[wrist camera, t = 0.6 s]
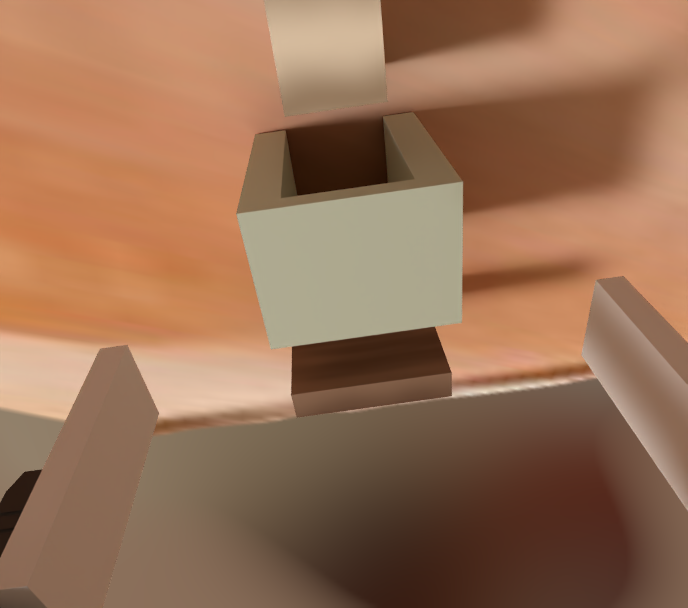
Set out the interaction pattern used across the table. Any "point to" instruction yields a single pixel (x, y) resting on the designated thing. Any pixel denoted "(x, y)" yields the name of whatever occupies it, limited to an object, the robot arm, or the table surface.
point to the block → (355, 243)
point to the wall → (369, 372)
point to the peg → (327, 53)
